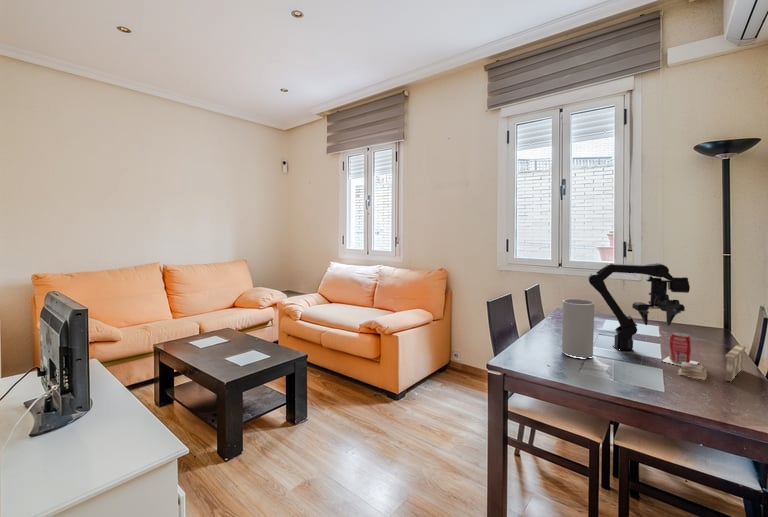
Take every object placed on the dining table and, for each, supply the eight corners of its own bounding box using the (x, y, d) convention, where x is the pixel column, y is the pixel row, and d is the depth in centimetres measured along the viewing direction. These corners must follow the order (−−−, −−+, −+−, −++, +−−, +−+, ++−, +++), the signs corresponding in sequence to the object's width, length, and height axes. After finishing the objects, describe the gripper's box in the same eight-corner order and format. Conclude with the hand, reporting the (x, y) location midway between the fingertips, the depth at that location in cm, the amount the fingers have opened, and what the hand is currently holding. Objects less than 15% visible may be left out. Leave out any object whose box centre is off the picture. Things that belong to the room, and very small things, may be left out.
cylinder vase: (584, 350, 167) (586, 298, 165) (598, 360, 154) (599, 304, 152) (557, 350, 168) (558, 298, 166) (568, 360, 156) (569, 304, 153)
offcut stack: (677, 375, 138) (678, 364, 138) (679, 371, 141) (680, 360, 141) (705, 381, 132) (706, 370, 132) (706, 377, 136) (707, 366, 135)
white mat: (661, 361, 151) (661, 360, 151) (669, 356, 157) (669, 355, 157) (691, 369, 143) (691, 368, 143) (698, 363, 149) (698, 362, 148)
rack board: (732, 383, 130) (734, 356, 129) (723, 380, 132) (725, 355, 131) (743, 370, 140) (745, 346, 139) (735, 368, 142) (737, 344, 141)
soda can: (680, 358, 153) (681, 331, 152) (694, 364, 146) (696, 336, 145) (664, 358, 153) (665, 331, 152) (678, 365, 146) (679, 337, 145)
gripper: (646, 294, 152) (644, 329, 154) (694, 295, 150) (692, 330, 151) (632, 290, 163) (631, 323, 165) (677, 290, 161) (675, 323, 162)
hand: (657, 325), depth 160 cm, fingers open, 9 cm apart
